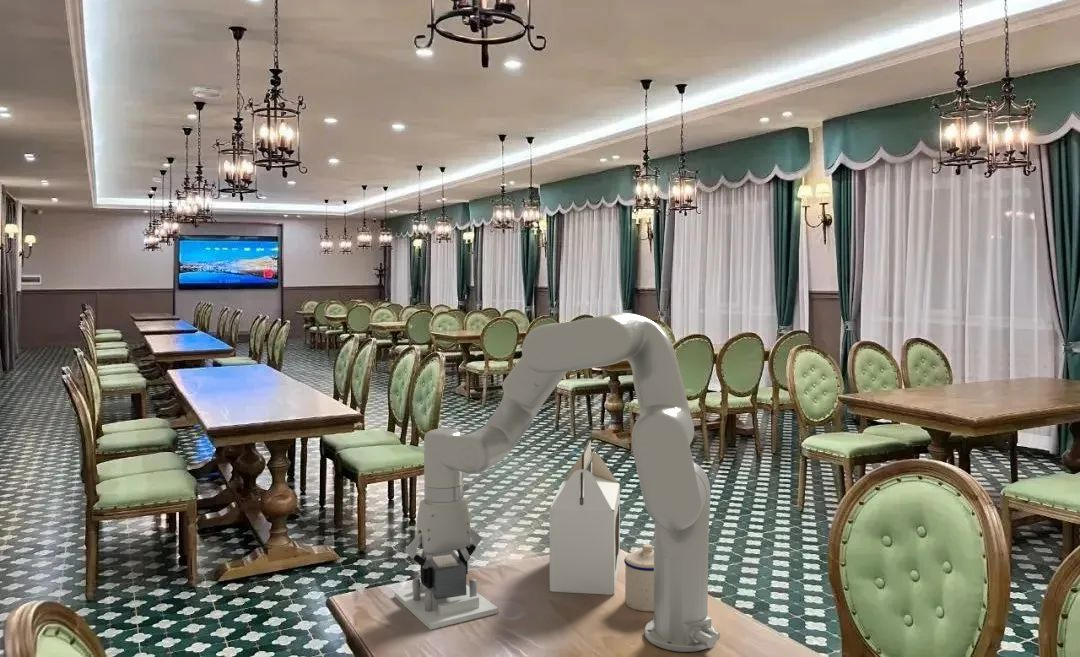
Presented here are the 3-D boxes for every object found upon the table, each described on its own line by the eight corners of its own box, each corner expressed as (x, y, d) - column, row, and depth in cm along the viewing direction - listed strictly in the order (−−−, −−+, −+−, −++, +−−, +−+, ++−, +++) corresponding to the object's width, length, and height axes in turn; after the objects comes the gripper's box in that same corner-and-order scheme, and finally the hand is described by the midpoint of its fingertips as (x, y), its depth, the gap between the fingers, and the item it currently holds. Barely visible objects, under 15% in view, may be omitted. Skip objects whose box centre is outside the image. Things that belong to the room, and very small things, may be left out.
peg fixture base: (497, 613, 153) (497, 587, 153) (430, 629, 146) (429, 603, 146) (457, 582, 169) (457, 559, 169) (394, 596, 162) (394, 572, 161)
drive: (466, 595, 154) (466, 566, 153) (435, 599, 151) (435, 570, 151) (452, 576, 163) (452, 549, 163) (423, 580, 161) (423, 552, 161)
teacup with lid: (674, 612, 153) (675, 552, 153) (627, 613, 153) (627, 553, 152) (662, 588, 165) (663, 533, 165) (619, 589, 165) (619, 533, 164)
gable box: (614, 596, 162) (614, 459, 160) (549, 592, 164) (548, 457, 162) (619, 558, 184) (620, 437, 182) (562, 555, 186) (562, 435, 184)
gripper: (475, 482, 164) (475, 568, 165) (394, 494, 155) (395, 585, 156) (492, 491, 157) (492, 580, 159) (409, 504, 148) (410, 598, 150)
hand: (444, 581), depth 157 cm, fingers closed on drive, 6 cm apart
